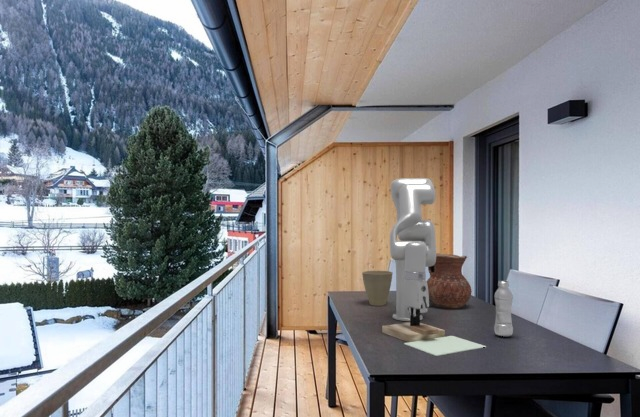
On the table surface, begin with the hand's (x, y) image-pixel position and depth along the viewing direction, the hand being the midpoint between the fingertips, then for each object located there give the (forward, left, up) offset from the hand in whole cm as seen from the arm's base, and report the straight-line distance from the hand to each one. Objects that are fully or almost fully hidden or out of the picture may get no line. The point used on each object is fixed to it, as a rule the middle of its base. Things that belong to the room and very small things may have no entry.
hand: (415, 326), depth 175 cm
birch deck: (0, -1, -3) cm, 4 cm away
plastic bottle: (-28, +16, -4) cm, 32 cm away
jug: (-51, -37, -4) cm, 63 cm away
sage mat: (0, +15, -3) cm, 16 cm away
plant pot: (-23, -56, -4) cm, 61 cm away
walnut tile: (0, +5, 0) cm, 5 cm away
